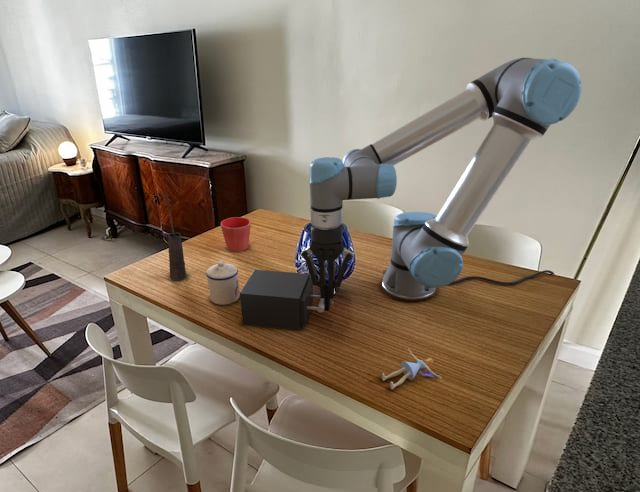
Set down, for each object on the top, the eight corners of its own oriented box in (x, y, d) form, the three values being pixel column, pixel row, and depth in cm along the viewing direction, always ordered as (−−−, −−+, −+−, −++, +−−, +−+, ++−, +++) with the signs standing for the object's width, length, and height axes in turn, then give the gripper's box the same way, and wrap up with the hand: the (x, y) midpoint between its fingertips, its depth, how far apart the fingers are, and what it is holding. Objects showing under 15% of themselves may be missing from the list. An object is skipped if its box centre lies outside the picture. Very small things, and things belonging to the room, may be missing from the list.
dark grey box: (309, 303, 128) (309, 273, 124) (299, 330, 117) (299, 298, 112) (256, 298, 132) (254, 269, 127) (242, 324, 120) (239, 293, 116)
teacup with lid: (243, 302, 130) (240, 266, 125) (212, 308, 128) (207, 271, 123) (234, 283, 140) (231, 249, 135) (205, 288, 138) (200, 254, 133)
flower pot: (258, 244, 166) (256, 219, 161) (240, 255, 158) (238, 229, 153) (235, 239, 171) (233, 214, 167) (217, 250, 163) (214, 224, 159)
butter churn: (194, 283, 142) (181, 197, 128) (163, 286, 141) (147, 199, 127) (195, 270, 150) (182, 187, 136) (165, 273, 149) (150, 190, 135)
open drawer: (328, 303, 126) (329, 279, 122) (321, 328, 116) (321, 302, 112) (263, 297, 130) (262, 273, 127) (251, 321, 120) (249, 296, 116)
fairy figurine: (371, 357, 100) (415, 338, 104) (372, 373, 103) (415, 354, 106) (403, 389, 91) (451, 367, 94) (403, 406, 93) (450, 384, 97)
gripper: (297, 229, 106) (301, 314, 118) (351, 231, 104) (350, 317, 115) (303, 218, 113) (306, 299, 124) (354, 219, 110) (353, 302, 121)
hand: (327, 308), depth 119 cm, fingers closed
